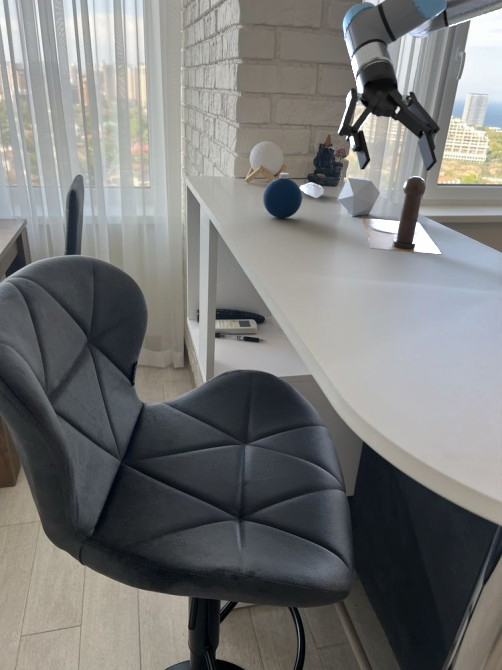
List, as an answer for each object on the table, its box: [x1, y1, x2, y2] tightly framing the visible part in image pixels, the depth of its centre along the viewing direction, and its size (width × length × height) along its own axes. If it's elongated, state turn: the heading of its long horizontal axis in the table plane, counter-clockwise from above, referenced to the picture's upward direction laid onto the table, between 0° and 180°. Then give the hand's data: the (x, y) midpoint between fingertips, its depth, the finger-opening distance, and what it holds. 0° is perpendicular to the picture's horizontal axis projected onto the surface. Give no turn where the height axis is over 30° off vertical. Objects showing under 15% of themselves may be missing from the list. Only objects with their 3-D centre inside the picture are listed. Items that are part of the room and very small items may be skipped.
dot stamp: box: [393, 175, 427, 249], centre depth 91 cm, size 4×4×12 cm
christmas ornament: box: [262, 172, 303, 219], centre depth 109 cm, size 8×8×10 cm
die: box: [336, 176, 381, 217], centre depth 116 cm, size 8×9×10 cm
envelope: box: [360, 217, 443, 255], centre depth 101 cm, size 13×24×1 cm, turn 173°
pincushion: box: [299, 173, 325, 199], centre depth 134 cm, size 12×6×6 cm, turn 6°
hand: (398, 165), depth 94 cm, fingers open, 13 cm apart
